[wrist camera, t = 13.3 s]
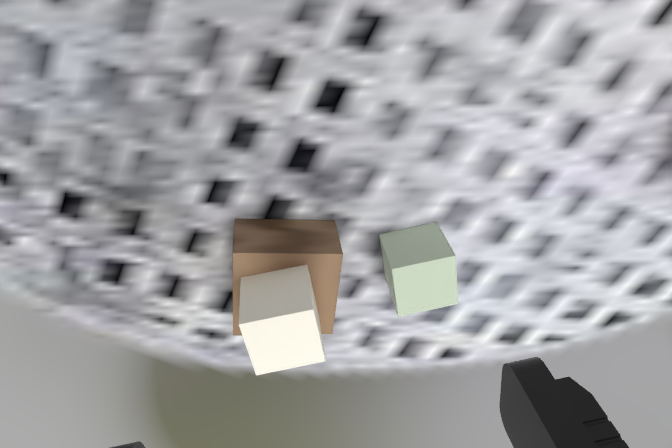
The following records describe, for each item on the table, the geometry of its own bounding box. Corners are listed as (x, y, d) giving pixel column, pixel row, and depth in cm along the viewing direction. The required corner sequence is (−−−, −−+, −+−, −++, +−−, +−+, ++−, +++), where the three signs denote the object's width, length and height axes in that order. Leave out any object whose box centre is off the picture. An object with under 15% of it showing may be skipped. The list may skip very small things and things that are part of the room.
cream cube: (256, 326, 40) (256, 375, 36) (240, 277, 38) (238, 324, 33) (318, 313, 40) (325, 361, 36) (307, 264, 38) (313, 309, 33)
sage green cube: (385, 279, 46) (398, 316, 41) (378, 233, 43) (391, 269, 39) (439, 267, 46) (457, 303, 42) (436, 221, 43) (455, 255, 39)
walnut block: (235, 294, 45) (233, 335, 40) (235, 216, 41) (232, 253, 36) (325, 294, 46) (332, 333, 42) (334, 218, 42) (342, 253, 38)
